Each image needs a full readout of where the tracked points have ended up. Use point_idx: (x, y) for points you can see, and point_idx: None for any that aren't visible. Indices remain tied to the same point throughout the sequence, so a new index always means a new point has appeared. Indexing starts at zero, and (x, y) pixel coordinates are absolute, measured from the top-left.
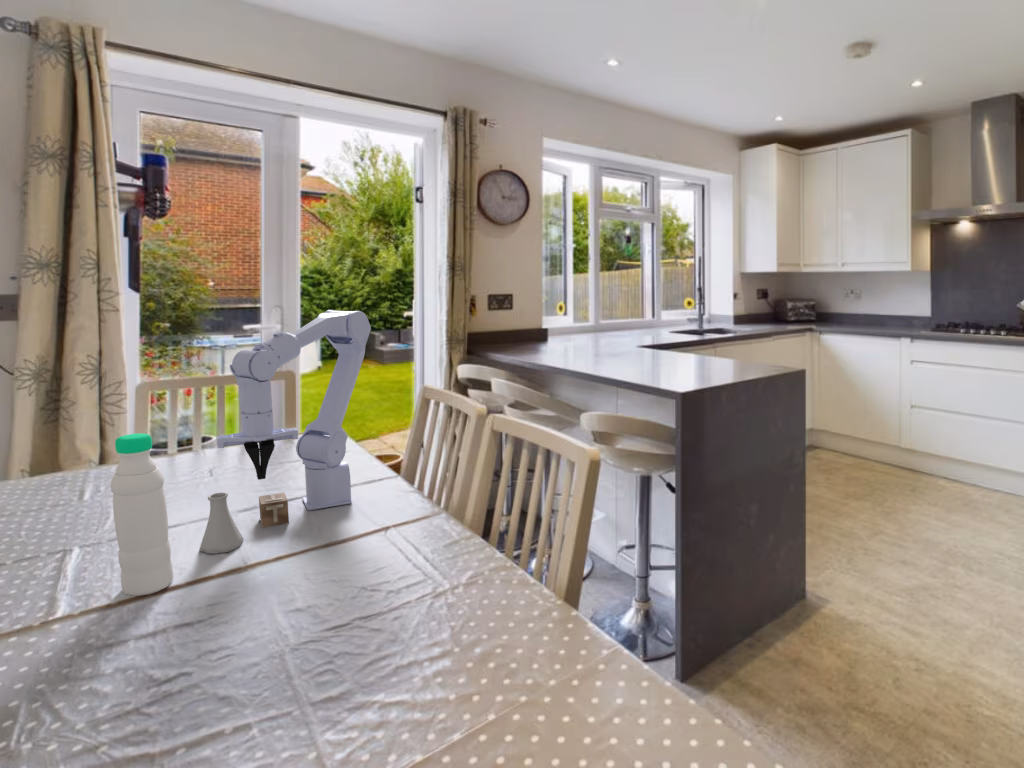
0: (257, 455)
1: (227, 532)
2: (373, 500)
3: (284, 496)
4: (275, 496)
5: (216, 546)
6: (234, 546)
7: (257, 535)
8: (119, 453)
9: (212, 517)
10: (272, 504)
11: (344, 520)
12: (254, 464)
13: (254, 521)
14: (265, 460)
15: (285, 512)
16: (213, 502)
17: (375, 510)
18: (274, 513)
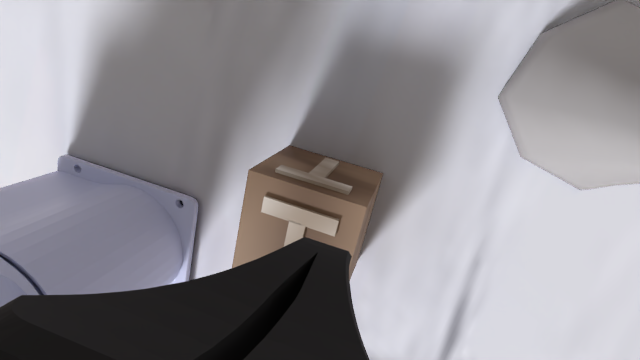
0: (283, 357)
1: (628, 34)
2: (4, 132)
3: (245, 226)
4: None
5: None
6: (577, 19)
7: (430, 108)
8: None
9: None
10: (318, 188)
11: (122, 21)
12: (351, 316)
13: (384, 251)
14: (228, 289)
15: (283, 158)
16: None
17: (16, 38)
18: (325, 170)
